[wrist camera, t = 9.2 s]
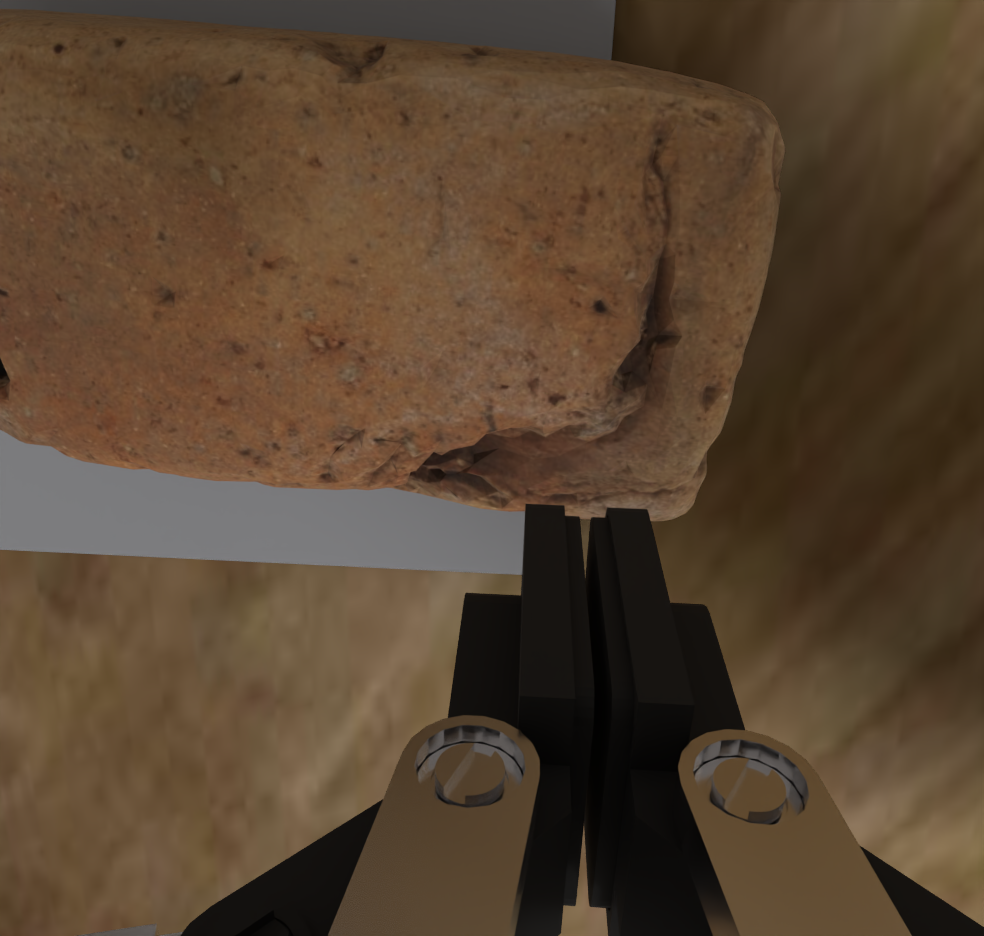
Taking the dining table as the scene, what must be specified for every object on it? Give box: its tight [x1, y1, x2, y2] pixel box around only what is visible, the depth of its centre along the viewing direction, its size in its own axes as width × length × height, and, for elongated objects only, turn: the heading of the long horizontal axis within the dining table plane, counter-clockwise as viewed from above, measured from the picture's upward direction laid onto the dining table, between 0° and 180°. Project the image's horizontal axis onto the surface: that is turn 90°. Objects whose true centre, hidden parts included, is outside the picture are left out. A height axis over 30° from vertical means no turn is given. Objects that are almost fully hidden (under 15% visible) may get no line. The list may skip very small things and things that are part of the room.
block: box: [0, 9, 786, 521], centre depth 21 cm, size 11×8×20 cm
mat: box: [0, 0, 616, 575], centre depth 26 cm, size 22×18×1 cm
